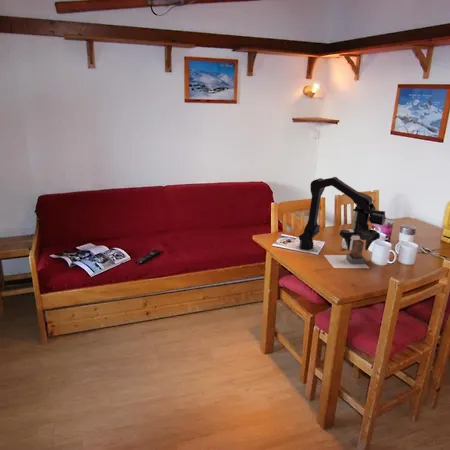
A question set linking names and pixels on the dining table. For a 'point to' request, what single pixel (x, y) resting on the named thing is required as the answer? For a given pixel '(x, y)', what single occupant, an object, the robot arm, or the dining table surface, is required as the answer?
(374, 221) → the robot arm
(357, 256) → the post
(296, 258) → the dining table surface
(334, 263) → the board
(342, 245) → the mug
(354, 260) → the block
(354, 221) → the travel mug
